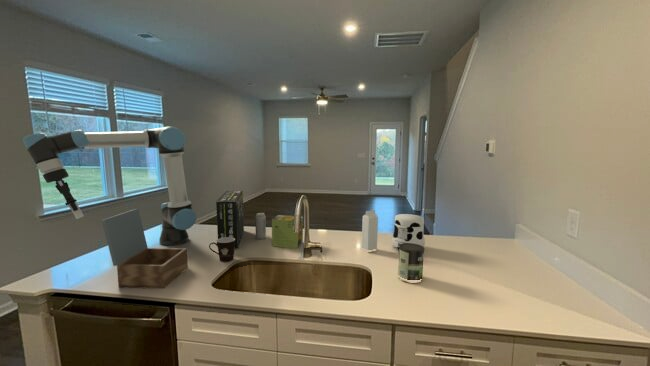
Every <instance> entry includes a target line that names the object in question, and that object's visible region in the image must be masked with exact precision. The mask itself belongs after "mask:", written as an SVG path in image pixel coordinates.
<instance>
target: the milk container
mask: <svg viewBox="0 0 650 366" xmlns="http://www.w3.org/2000/svg"><path fill="white" fill-rule="evenodd" d="M393 226H394V227H393V229H394V230H393V233H392V239H391V240H392V241H391V243H392V246H393V247H394V248H395V249H396V248H398V249H397V250H399V245H400V244H403V243H413V244H418V245H421V246H423V247H424V248H425V243H426V241H425V235H424V231H425V230H424V228H425V218H424V216H422V215H417V214H411V213H401V214H399V213H398V214H396V215H395V216H394V225H393Z"/></svg>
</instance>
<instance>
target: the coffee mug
mask: <svg viewBox="0 0 650 366" xmlns="http://www.w3.org/2000/svg"><path fill="white" fill-rule="evenodd" d="M211 245H216V247H217V251H218V252H217V251H215V250H213V249H212V248H211ZM234 247H235V238H232V237H224V238H220V239H218V238H217V239H216V242H211V243H209V245H208V248H209V250H210V251H211V252H213V253H215V254H216V255H218V258H219V262H221V263H230V262H232V261H233V260H234V258H235V257H234V256H235V249H234Z"/></svg>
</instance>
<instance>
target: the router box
mask: <svg viewBox="0 0 650 366" xmlns="http://www.w3.org/2000/svg"><path fill="white" fill-rule="evenodd" d="M243 192H244V191H243V190H226V191H225V192H224V193H222V195H221V196H220V197H218V198H217V200H216V201H215V205H216V225H217V226H216V227H217V229H216V230H217V240H218V239H220V238H224V237H232V238H235V247H234V250H235V249H240V248H239V247H240V244H241V240H242V238H243V234H244V231H245V226H244V222H245V221H244V220H245V219H244V197H243V196H244V194H243Z"/></svg>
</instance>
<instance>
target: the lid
mask: <svg viewBox="0 0 650 366" xmlns="http://www.w3.org/2000/svg"><path fill="white" fill-rule="evenodd" d="M101 223H102V226H103V231H104V235H105V238H106V241H107V242H106V243H107V245H108V251H109V253H110V254H109V255H110V257H111V262H112V266H113V267H117V265H118V264H120V263H122V262H124V261H125V260H127V259H129V258H131V257H132V256H134V255H136V254H138V253H139V252H141V251H143V250H145V249H146V248H149V246H148V243H147V240H146V236H145V232H144V227H143V222H142V218H141V214H140V210H139V208H135V209H134V208H133V209H131V210H127V211H125V212H121V213H119V214H116V215H113V216H109V217H107V218H104V219H101Z"/></svg>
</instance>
